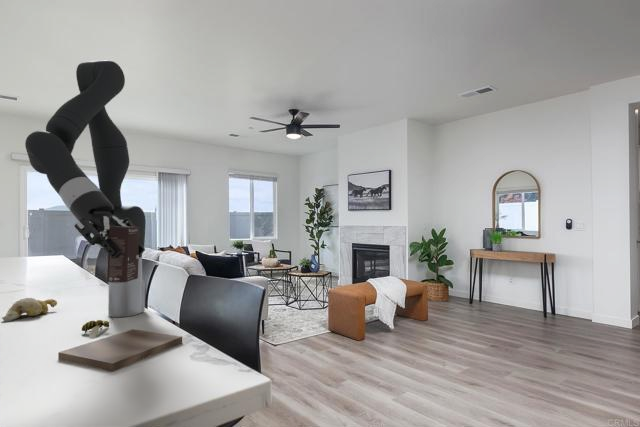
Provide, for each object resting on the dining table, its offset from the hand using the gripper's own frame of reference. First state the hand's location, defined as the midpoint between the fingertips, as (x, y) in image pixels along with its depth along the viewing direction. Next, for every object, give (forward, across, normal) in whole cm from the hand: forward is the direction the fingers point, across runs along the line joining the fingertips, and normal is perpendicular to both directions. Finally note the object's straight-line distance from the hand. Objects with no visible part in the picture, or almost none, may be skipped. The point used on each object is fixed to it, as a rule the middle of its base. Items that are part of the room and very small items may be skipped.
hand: (130, 254), depth 83 cm
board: (+14, 0, +16) cm, 21 cm away
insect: (+2, +10, +28) cm, 30 cm away
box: (+3, 0, +6) cm, 6 cm away
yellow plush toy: (-22, +21, +53) cm, 61 cm away
